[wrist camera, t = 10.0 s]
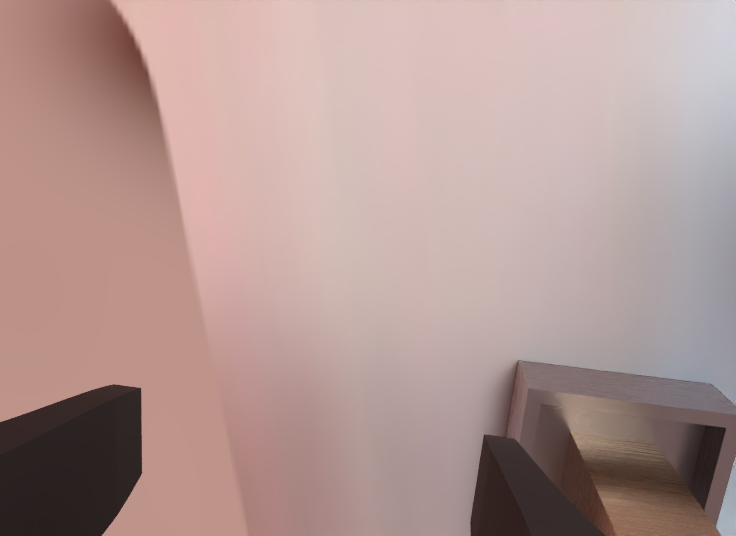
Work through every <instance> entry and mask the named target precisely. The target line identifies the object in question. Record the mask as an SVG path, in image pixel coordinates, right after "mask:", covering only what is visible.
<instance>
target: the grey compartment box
mask: <svg viewBox="0 0 736 536" xmlns="http://www.w3.org/2000/svg"><path fill="white" fill-rule="evenodd" d="M506 438H513V439H516V441H517V442H518V443H519V444H520V445H521V446H522V447H523V449H524V450H525V451H526V452H527V453H528V454H529V456H530V457H531V458H532V459H533V460H534V462H535V463H536V464H537V465H538V466H539V467H540V469H541V470H542V471H543V472H544V473H545V474H546V475H547V477H548V478H549V479H550V480H551V481H552V482H553V483H554V484H555V485H556V487H557V488H558V489H559V490H560V491H561V492H562V493H563V494H564V495H565V496H566V497H567V498H568V499H569V501H570V502H571V503H572V504H573V505H574V506H575V507H576V508H577V509H578V510H579V511H580V512H581V513H582V514H583V515H584V516H586V517H587V518H588V519H589V520H590V521H591V522H592V523H593V524H594V525H595V526H596V527H597V528H598V529H599V530H600V531H601V532H602V533H603V534H605V535H606V536H721V535H720V533H719V532H718V530H717V529H716V524H717V520H718V516H719V513H720V509H721V506H722V502H723V498H724V495H725V491H726V488H727V484H728V480H729V477H730V473H731V470H732V466H733V462H734V459H735V455H736V406H735V405H734V404H733V403H732V402H730V401H729V400H728V399H727V398H726V397H725V396H724V395H723V394H722V393H721V392H720V391H719V390H718V389H717V388H715V387H714V386H713V385H712V384H705V383H697V382H689V381H681V380H672V379H664V378H656V377H648V376H640V375H632V374H624V373H616V372H608V371H600V370H592V369H584V368H576V367H568V366H560V365H552V364H544V363H535V362H527V361H519V360H518V366H517V372H516V378H515V384H514V390H513V396H512V402H511V408H510V414H509V420H508V426H507V432H506Z"/></svg>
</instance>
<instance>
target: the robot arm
mask: <svg viewBox="0 0 736 536" xmlns="http://www.w3.org/2000/svg"><path fill="white" fill-rule="evenodd" d="M141 439H142V436H141V388H136V387H128V386H121V385H109V386H105V387H101V388H98V389H95V390H91V391H88V392H85V393H82V394H80V395H77V396H74V397H71V398H68V399H65V400H62V401H60V402H57V403H54V404H51V405H48V406H46V407H43V408H40V409H38V410H35V411H32V412H29V413H26V414H23V415H21V416H18V417H15V418H12V419H9V420H6V421H3V422H0V536H102V534H103V533H104V532H105V530H106V529H107V528H108V527H109V525H110V524H111V523H112V521H113V520H114V519H115V517H116V516H117V515H118V513H119V512H120V510H121V508H122V507H123V505H124V504H125V502H126V500H127V499H128V497H129V495H130V494H131V492H132V490H133V488H134V486H135V485H136V483H137V481H138V479H139V478H140V476H141V474H142V440H141ZM470 523H471V536H606V535H605V534H603V533H602V532H601V531H600V530H599V529H598V528H597V527H596V526H595V525H594V524H593V523H592V522H591V521H590V520H589V519H588V518H587V517H586V516H584V515H583V514H582V513H581V512H580V511H579V510H578V509H577V508H576V507H575V506H574V505H573V504H572V503H571V502H570V501H569V499H568V498H567V497H566V496H565V495H564V494H563V493H562V492H561V491H560V490H559V489H558V488H557V487H556V485H555V484H554V483H553V482H552V481H551V480H550V479H549V478H548V477H547V475H546V474H545V473H544V472H543V471H542V470H541V469H540V467H539V466H538V465H537V464H536V463H535V462H534V460H533V459H532V458H531V457H530V456H529V454H528V453H527V452H526V451H525V450H524V449H523V447H522V446H521V445H520V444H519V443H518V442H517V441H516V439H513V438H506V437H498V436H491V435H484V438H483V444H482V451H481V457H480V464H479V470H478V477H477V483H476V490H475V496H474V503H473V509H472V516H471V522H470Z"/></svg>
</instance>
